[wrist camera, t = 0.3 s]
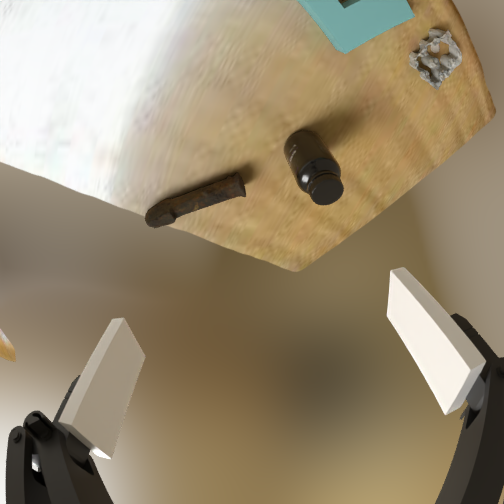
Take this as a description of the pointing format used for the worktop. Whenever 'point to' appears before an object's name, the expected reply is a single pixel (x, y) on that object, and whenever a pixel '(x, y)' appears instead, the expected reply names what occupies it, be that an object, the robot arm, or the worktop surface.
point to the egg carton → (446, 61)
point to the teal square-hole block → (356, 19)
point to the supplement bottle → (314, 167)
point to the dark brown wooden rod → (195, 201)
